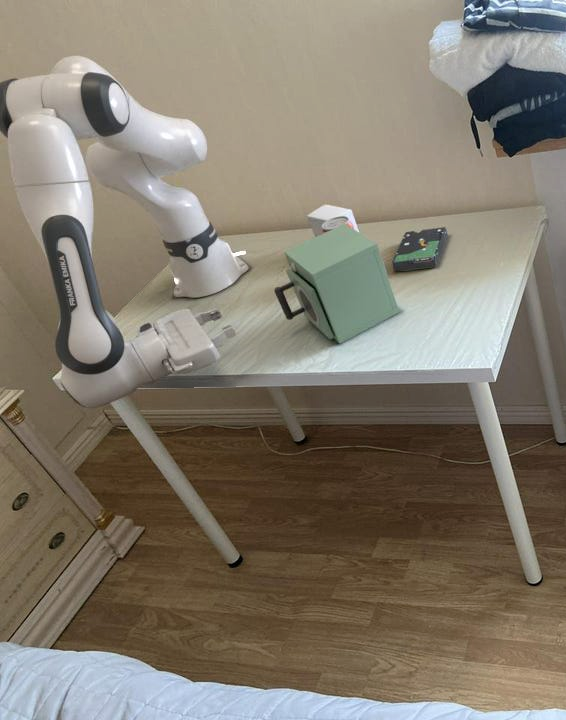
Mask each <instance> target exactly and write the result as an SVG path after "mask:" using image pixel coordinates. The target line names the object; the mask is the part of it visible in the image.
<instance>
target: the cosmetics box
mask: <svg viewBox="0 0 566 720" xmlns="http://www.w3.org/2000/svg"><path fill="white" fill-rule="evenodd" d="M339 216H346V217H348V219H349V221H350V222H351V223H352V224H353V226H354V229H355V230H356V231H357V232H359V233H360V230H359V228H358V225H357V222H356V219H355V216H354V213H353V210H352V209H350V208H346V207H340V206H336V205H330V204H326V203H325V204H323V205H321V206H320V207H317V208H316V209H315V210H313V211H312V212H310V213H309V214H307V215H306V217H307V221H308V223H309V225H310V228H311V230H312V233H313V235H314V238H315V237H317V236H319V235H322V231H323V229H322V225H323V223H324V222H326V221H327V220H329V219H332V218H335V217H339Z"/></svg>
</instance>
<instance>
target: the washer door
mask: <svg viewBox="0 0 566 720" xmlns="http://www.w3.org/2000/svg"><path fill="white" fill-rule="evenodd" d="M285 272H286V275H287V277H288V279H289V281H290V282H288V283H286V284H284V285H282V286H276V287H275V288H274V293H275V297H276V298H277V300H278V303H279V305H280V306H281V310H282V311H283V314H284V316H285V318H286V320H288V321H291V320H293V319H294V318H295V317H297V316H299V315H301V314H302V313H303V314H304V316H305V318H307V319H308V320H309V321H310V322H311V324H313V325H314V326H315V327H316V328H317V329H318V330H319V331H320V332H321V333H322V334H324V336H325V337H327V339H328V340H332V339H334V337H333V334H332V332H331V329H330V327H329V324H328V322H327V319H326V317H325V314H324V312H323V310H322V307H321V305H320V302H319V300H318V297H317V295H316V292H315V290H314V289H313V288H312V287H311V286H309V285H308V284H307V283H306V282H305V281H304V280H302V279H301V278H300V277H299V276H298V275H297V274H295V273H294V272H293V271H292V270H291V268H288V269H286V270H285ZM292 288H293V291H294V293H295V295H296V298H297V300H298V303H299V305H300V308H298V309H295V310H294V311H292V309H291V307H290V305H289V302H288V300H287V298H286V295H285V293H284V292H285V291H287V290H289V289H292Z"/></svg>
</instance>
